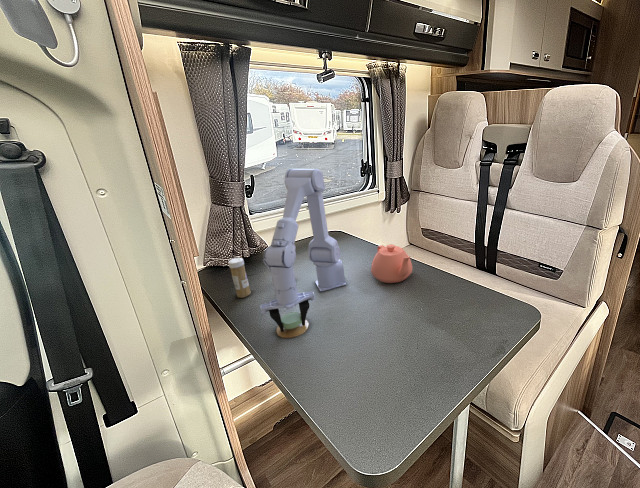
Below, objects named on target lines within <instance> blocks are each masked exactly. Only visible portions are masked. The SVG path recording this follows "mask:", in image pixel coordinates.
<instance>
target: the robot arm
mask: <svg viewBox="0 0 640 488" xmlns="http://www.w3.org/2000/svg"><path fill="white" fill-rule="evenodd" d="M284 186H285V188H286V197H285V202H284V209H283V213H282V217H281V218H280V219H278V220H277V222H276V225H275V227H274V231H273V236H272V238H271V243H270V245H269V246H268V247H266V248H265V249H264V251H263V260H262V262H263V264H264V265H265V267H267V270H268V273H271V279H272V284H273V290H274V295H275V298H273V299H272V300H270V301H268V302H264V303H262V304H259V308H260V313H261V315H265V314H266V313H269V316H270V318H271V319H272V320H273V322H275V323H276V325H277V327H278V326H279V327H280V330H281V332H283V331H284V329H283V326H282V323H281V318H282V317H281V313H280V310H279V309H285V310H290V309H294V307H295V306H296V305H298V307H299V313H300V314H301V317H302V325H305V319H306V320H307V314H308V311H309V309H310V307H311V306H310V302H309V301H312V302H313V301H315V300H316V297H315V293H314V291H313V290H311V291H307V292H298V288H297V283H296V276H295V270H294V266H293V265H294V263H295V261H296V256H297V253H296V248H297V247H296V245H295V242H296V239H297V234H298V231H299V224H298V222H297V219H298V216H299V212H300V210H301V207H302V205H303V201H304V198H306V202H307V207H308V213H309V219H310V224H311V225H310V226H311V231H312V237H313V239H311V240H310V241H309V243H308V253H307V255H308V259H309V261H310V262H312V263H313V265H314V266H315V272H316V278H317V280H315V281H314V283H315V285H316V287H317V288H318V291H319V292H324V291H329V290H332V289H336V288H340V287H343V286H346V285H347V283H346V277H345V268H344V263H343V262H342V259H340V257H341V248H340V247H339V243H338V240H337V239H335V238H334V237H332V236H331V235H329V230H328V229H329V228H328V223H327V217H326V216H327V215H326V209H325V202H324V195H323V192H325V191H326V186H325V178H324V174H323V172H322V171H321V170H320V169H319V168H288V169H287V170H286V171H285V174H284Z"/></svg>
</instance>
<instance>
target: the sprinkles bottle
mask: <svg viewBox="0 0 640 488" xmlns="http://www.w3.org/2000/svg"><path fill="white" fill-rule="evenodd" d="M227 263H228V267H229V269H230V273H231V278H232V281H233V286H234V289H235V291H236V297H237V298H242V299H243V298H246V297H248V296H250V295H251V294H252V291H251V288H250V284H249V279H248V275H247V272H246V268H245V261H244V258H241V257H233V258H231V259H230V260H228V262H227Z"/></svg>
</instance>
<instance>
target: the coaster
mask: <svg viewBox="0 0 640 488" xmlns="http://www.w3.org/2000/svg"><path fill="white" fill-rule="evenodd" d="M309 326H310V325H309V321H308V320H307V318H306V319H305V325H302V323H301V324H300V325H299V326H298V327H296V328H293V329H285V328H283V329H284V331H283V332H281V330H280V327H279V326H278V325H277V327H276V335H277V336H278V337H279V338H282V339H293V338H296V337H299V336H301V335H303V334H304V333H305V332H307V330H308V329H309V328H310V327H309Z"/></svg>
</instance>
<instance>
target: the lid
mask: <svg viewBox="0 0 640 488" xmlns="http://www.w3.org/2000/svg"><path fill="white" fill-rule="evenodd" d="M280 318H281V323H282V326H283V328H285V329H293V328H296V327H298V326H299V325H300V324H301V323H302V317H301V314H300V312H298V311H292V312H288V313H286V314H284V315H283V316H282V317H280Z"/></svg>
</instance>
